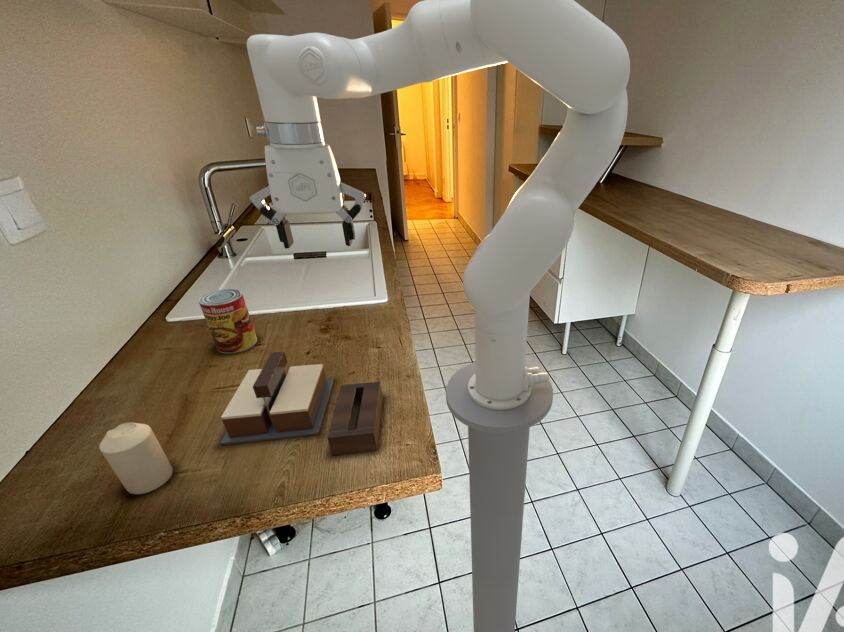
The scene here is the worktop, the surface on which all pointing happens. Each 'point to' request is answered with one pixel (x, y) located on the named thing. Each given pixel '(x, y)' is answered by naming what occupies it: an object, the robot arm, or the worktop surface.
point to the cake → (278, 407)
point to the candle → (136, 457)
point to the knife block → (345, 415)
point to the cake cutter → (271, 380)
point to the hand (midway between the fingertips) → (319, 244)
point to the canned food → (228, 320)
